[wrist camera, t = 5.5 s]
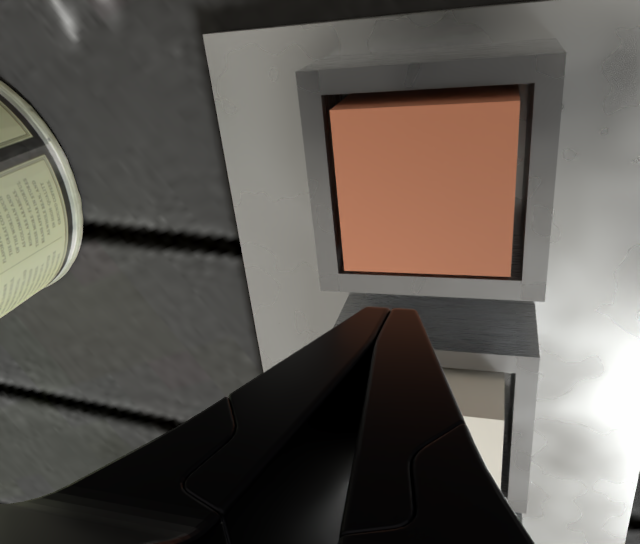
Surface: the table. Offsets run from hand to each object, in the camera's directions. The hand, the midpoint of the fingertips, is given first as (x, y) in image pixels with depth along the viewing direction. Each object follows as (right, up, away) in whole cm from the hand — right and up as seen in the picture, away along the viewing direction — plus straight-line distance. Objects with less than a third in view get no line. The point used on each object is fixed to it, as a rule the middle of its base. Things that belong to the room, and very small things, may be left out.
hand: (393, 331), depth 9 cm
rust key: (+2, +4, +7) cm, 9 cm away
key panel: (+3, -2, +12) cm, 13 cm away
